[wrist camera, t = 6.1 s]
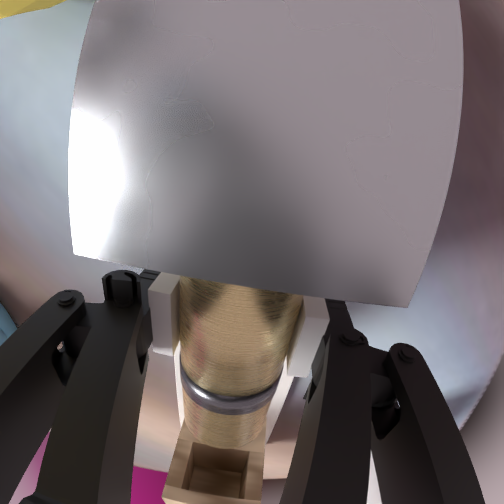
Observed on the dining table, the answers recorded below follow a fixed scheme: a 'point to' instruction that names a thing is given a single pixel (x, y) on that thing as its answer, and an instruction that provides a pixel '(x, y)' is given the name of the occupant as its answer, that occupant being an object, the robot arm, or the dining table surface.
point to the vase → (24, 6)
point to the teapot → (5, 325)
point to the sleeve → (267, 141)
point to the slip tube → (231, 357)
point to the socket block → (215, 472)
